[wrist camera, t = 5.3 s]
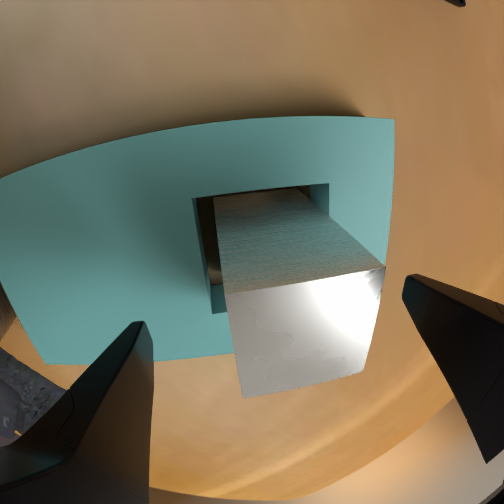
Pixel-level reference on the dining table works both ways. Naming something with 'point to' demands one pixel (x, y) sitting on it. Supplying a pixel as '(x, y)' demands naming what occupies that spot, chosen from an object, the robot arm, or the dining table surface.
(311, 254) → the square bit
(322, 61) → the dining table surface
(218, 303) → the bore block
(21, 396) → the dark slate chunk
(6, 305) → the round bit
